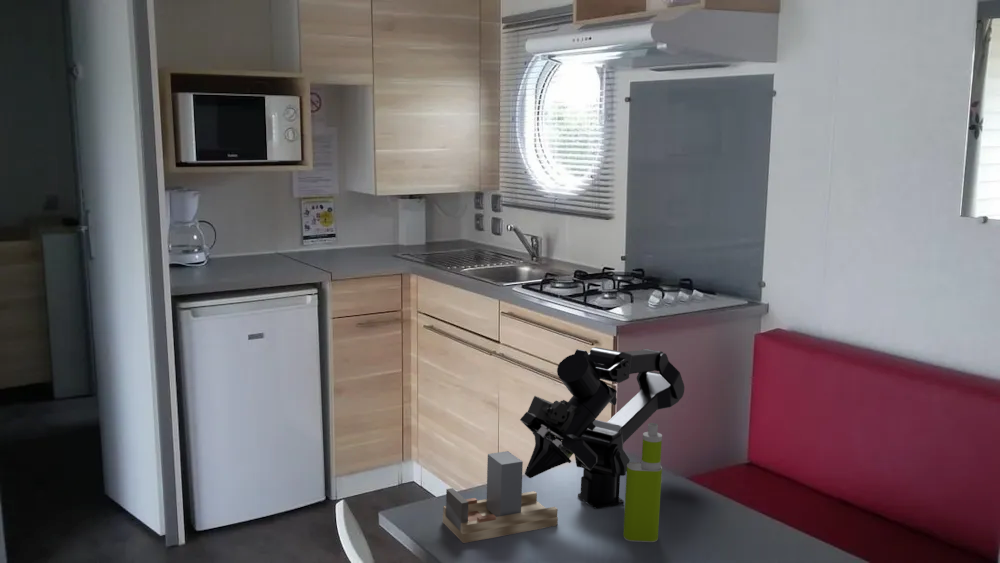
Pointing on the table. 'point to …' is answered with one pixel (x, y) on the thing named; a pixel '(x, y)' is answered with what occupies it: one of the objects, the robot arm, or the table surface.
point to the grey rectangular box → (504, 484)
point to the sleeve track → (494, 517)
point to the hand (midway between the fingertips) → (527, 476)
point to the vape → (644, 490)
